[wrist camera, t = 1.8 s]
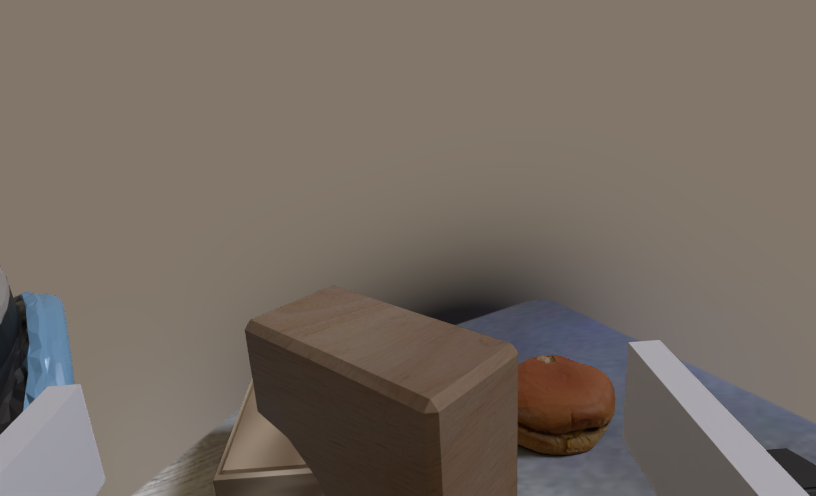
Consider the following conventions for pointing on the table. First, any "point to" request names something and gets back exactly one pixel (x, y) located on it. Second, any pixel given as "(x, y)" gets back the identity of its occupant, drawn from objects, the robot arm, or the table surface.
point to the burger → (562, 405)
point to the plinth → (261, 459)
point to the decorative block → (387, 397)
